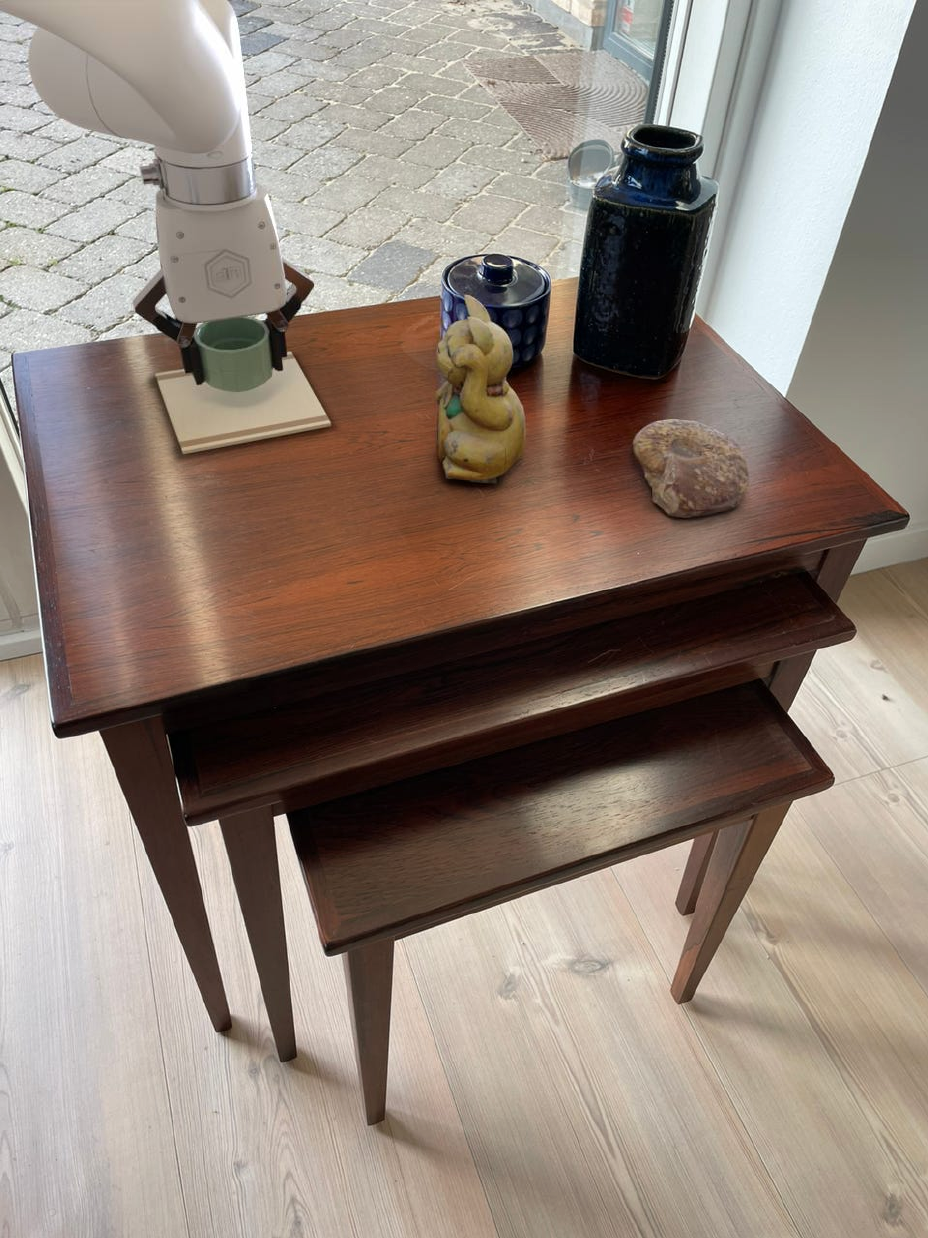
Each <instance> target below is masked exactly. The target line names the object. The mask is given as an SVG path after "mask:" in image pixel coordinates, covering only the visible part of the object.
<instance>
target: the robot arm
mask: <svg viewBox="0 0 928 1238" xmlns="http://www.w3.org/2000/svg"><path fill="white" fill-rule="evenodd" d="M0 12H2V13H5V14H7V15H9V16H12V17H15V18H17V19H20V20H22V21H24V22H27V23H29V24H31V25H33V26H36V29H35V30H34V32H33V34H32V37H31V39H30V42H29V47H28V53H27V56H28V57H27V61H28V62H27V63H28V70H29V74H30V75H29V76H30V78H31V82H32V84H33V87H34V89H35V91H36V93H37V95H38V96H39V97H40V99H41V101H42V102H43V103H44V104H45V105H46V107H47V108H48V109H50V110H51V112H53V113H54V114H55V115H56V116H58V117H59V118H61V119H63V120H64V121H65V122H68V123H69V124H72V125H74V126H76V127H78V128H80V129H84V130H88V131H92V132H95V133H100V134H103V135H106V136H107V135H108V136H113V137H117V138H120V139H125V140H133V141H137V142H141V143H145V144H148V145H153V146H154V152H153V153H154V158H152V162H149V163H148V165H141V166H138V167H139V173H140V178H141V181H142V184H143V185H153V186H158V189H159V190H158V191H157V192H156V194H155V227H156V228H155V229H156V241H157V250H158V257H159V264H160V269H159V270H158V271H157V273H156V274H155V275H154V276H153V277H152V278H151V279H150V280H149V281H148V283H146V285H145V286H144V287H143V288H142V289H141V290H140V291H139V293H138V294H137V295H136V296H135V298H134V299H132V303H131V304H132V306H133V309H134V312H135V313H136V315H138V316H139V317H140V318H142V319H144V321H146V322H148V323H149V324H151V325H152V326H154V327H155V328H156V330H157V331H159V332H160V333H162V334H163V335H165V336H167V337H168V338H170V339H172V340H173V341H175V342H176V343H177V345H178V348H179V352H180V358H181V363H182V366H183V369H184V371H185V373H186V374H188V373H192V374H193V377H194V379H195V382H196V384H197V385H202V383H204V378H203V372H202V366H201V361H200V355H199V350H198V346H197V344H196V341H195V339H194V337H193V335H194V332H195V330H196V328H197V327H198V324H202V323H204V322H212V321H219V320H226V319H232V318H239V317H245V316H247V317H251V316H258V315H263V314H265V315H266V318H265V319H264V320H265V321H264V322H263V323H264V324H266V326H267V327H268V329H269V331H270V339H271V348H272V357H273V365H274V369H275V370H277V371H283V362H282V358H284V357H287V352H288V350H287V349H288V348H287V340H286V332H287V330H288V329H289V326H290V325H289V323H290V322H291V321H292V320H293V318H294V317H295V316H296V315H297V313H298V312H300V310H301V309H302V304H303V302H305V301H306V299H307V298H308V297H309V295H311V292H312V291H313V290H314V288H315V283H314V281H313V280H312V277H311V276H310V275H309V274H307V273H305V272H304V271H303V270H302V269H300V268H299V267H297V266H295V265H294V264H293V263H291V262H289V261H288V260H286V259H285V258H284V257H283V256H282V250H281V244H280V240H279V239H280V238H279V234H278V230H277V224H276V221H275V216H274V211H273V208H272V207H273V206H272V204H271V201H270V197H269V194H268V192H267V190H266V189H265V188H264V187H263V186H262V185H261V184H260V183H259V182H257V180H256V169H255V162H254V154H253V144H252V143H253V142H252V134H251V125H250V117H249V107H248V99H247V90H246V82H245V74H244V64H243V55H242V46H241V45H242V44H241V37H240V30H239V29H240V28H239V24H238V18H237V15H236V12H235V9H234V7H233V5H232V4H231V3H230V2H229V0H0ZM286 281H287V282H289V283H290V284H291V287H290V290H289V291H288V290H287V282H286ZM165 295H166V297H167V299H168V303H169V306H170V309H171V312H172V313H173V315H174V316H173V317H172V316H171V315H169V314H168V313H167V312H165V311H163V310H161V309H159V308H158V307H157V306H156V305H157V304H158V303H159V302H160V301H161V300H162V299H163V298H164V297H165Z"/></svg>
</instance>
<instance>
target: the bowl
mask: <svg viewBox="0 0 928 1238" xmlns="http://www.w3.org/2000/svg"><path fill="white" fill-rule="evenodd" d="M193 337H194V339H195V341H196V344H197V346H198V350H199V355H200V361H201V366H202V372H203V378H204V382H205V383H207V384H208V385H210V386H211V387H213V388H217V389H220V390H223V391H228V392H242V391H248V390H252V389H254V388H257V387H259V386H260V385H262V384H264V383H266V382H267V381H268V380H269V379H270V378H271V377H272V375H273V371H274V365H273V357H272V348H271V339H270V331H269V329H268V327H267V326H266V324H264V322H263V321H262V320H260V319H258V318H254V317H251V316H245V317H239V318H232V319H226V320H219V321H212V322H204V323H200V324H199V325H197V326H196V329H195V332H194V335H193Z"/></svg>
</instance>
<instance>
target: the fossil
mask: <svg viewBox="0 0 928 1238" xmlns="http://www.w3.org/2000/svg"><path fill="white" fill-rule="evenodd" d="M632 447H633V455H634V456H635V458H636V461H637V462H638V463H639V464H640V466H641V469H642V470H643V473H644V478H645V480H646V481H647V482H648V485H649V487H650V488H651V489H652V491H651V494H652V497H651V500H652V503H654V504H657V506H659V507H660V508H662V509H663V510H664V511H665V513H666V514H667V515H668V516H672V517H675V518H684V519H688V518H693V517H702V516H710V515H713V514H715V513H722V512H728V511H731V510H733V508H735V507H737V506H739V504H740V503H741V501H742V500H743V498H744V495H745V493H746V491H747V490H748V486H749V483H750V473H749V470H748V464H747V461H746V458H745V455H744V454H743V453H742V450H741V446H740V445H739V444H738V443H737V442H736V441H735V440H734V439H733V438H731V437H729V436H728V435H727V434H726V433H722V432H720V431H719V430H718V429H715V428H713V427H712V426H708V425H706V424H703V423H701V421H696V420H687V419H677V418H674V419H673V418H669V419H662V420H657V421H654V422H651V423H649V424H647V425H646V426H644V427H643V428H642V429H640V430H639V431H638V432H637V433H636V435H635V436H634V439H633V441H632Z"/></svg>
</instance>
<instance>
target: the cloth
mask: <svg viewBox="0 0 928 1238" xmlns="http://www.w3.org/2000/svg"><path fill="white" fill-rule="evenodd" d="M282 362H283V371H277V370H275V369H274V371H273V375H272V377H271V378H270V379H269V380H268V381H267V382H266V383H264V384H262V385H260V386H259V387H257V388H254V389H252V390H248V391H242V392H228V391H223V390H220V389H217V388H213V387H211V386H210V385H208V384H207V383H205V382H204V383H202V385H197V384H196V382H195V379H194V377H193V374H192V373H188V374H186V373H185V371H184V368H181V369H175V370H169V371H162V372H157V373H154V375H155V379H156V383H157V384H158V385H157V386H158V388H159V391H160V393H161V397H162V399H163V402H164V405H165V407H166V408H165V409H166V411H167V414H168V417H169V419H170V421H171V425H172V427H173V430H174V433H175V436H176V440H177V441H178V444H179V448H180V450H181V453H182V455H188V454H193V453H198V452H203V451H209V450H214V449H219V448H225V447H231V446H235V445H241V444H245V443H250V442H255V441H260V440H266V439H270V438H277V437H281V436H282V437H283V436H286V435H292V434H298V433H302V432H307V431H314V430H319V429H325V428H328V427H329V428H330V427H332V423H331V421H330V419H329V417H328V415H327V413H326V412H325V410H324V408H323V407H322V404H321V402H320V401H319V399H318V398H317V395H316V394H315V391H314V390H313V388H312V387H311V385H310V383H309V381H308V379H307V377H306V376H305V374H304V372H303V370H302V369H301V367H300V365H299V363H298V361H297V360H296V358H295V357H294V354H293V353H292V351H287V357H284V358H282Z"/></svg>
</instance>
